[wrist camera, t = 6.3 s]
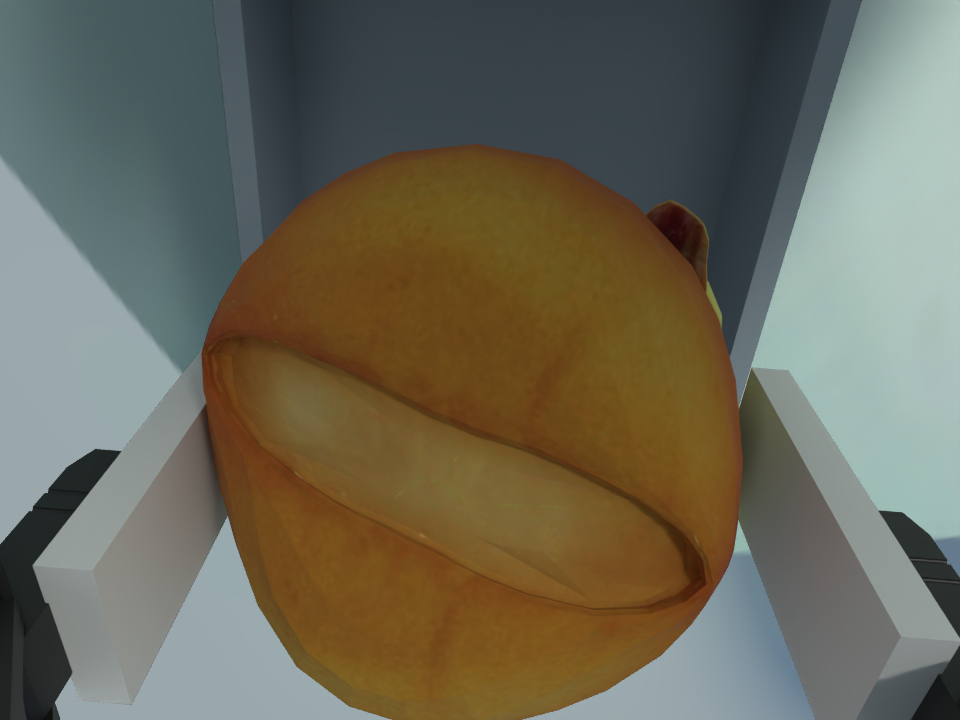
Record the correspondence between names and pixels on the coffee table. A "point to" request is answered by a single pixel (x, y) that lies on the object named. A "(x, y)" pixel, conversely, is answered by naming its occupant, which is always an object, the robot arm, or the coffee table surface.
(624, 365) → the cheeseburger
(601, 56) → the bin
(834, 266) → the coffee table surface
